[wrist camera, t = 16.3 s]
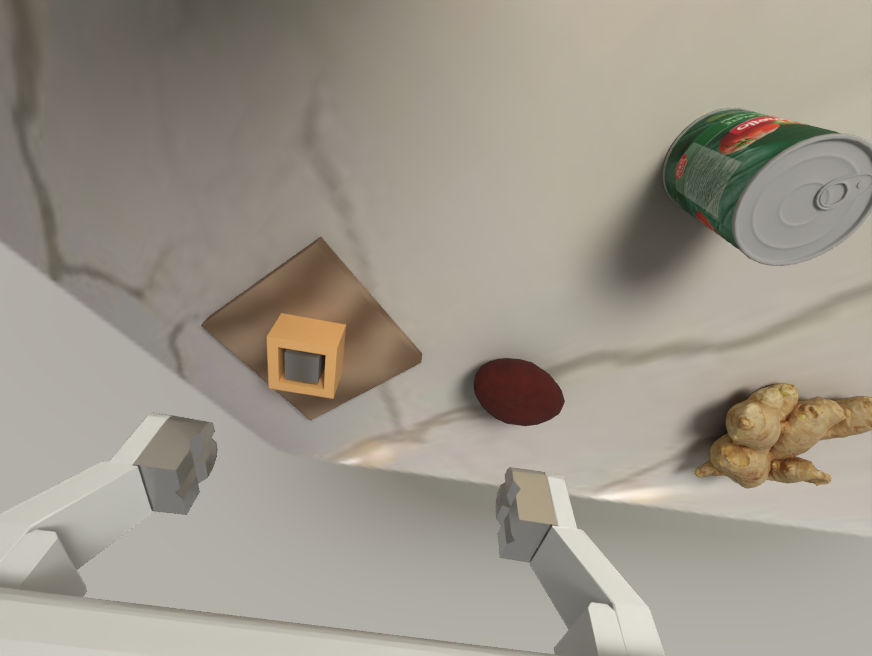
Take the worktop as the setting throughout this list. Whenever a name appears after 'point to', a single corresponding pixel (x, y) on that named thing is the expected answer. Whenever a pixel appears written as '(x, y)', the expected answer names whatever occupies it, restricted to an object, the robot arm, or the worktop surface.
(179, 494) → the robot arm
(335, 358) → the orange square tube
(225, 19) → the worktop surface
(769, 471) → the ginger root
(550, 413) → the potato
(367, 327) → the base plate
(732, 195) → the canned tomato
